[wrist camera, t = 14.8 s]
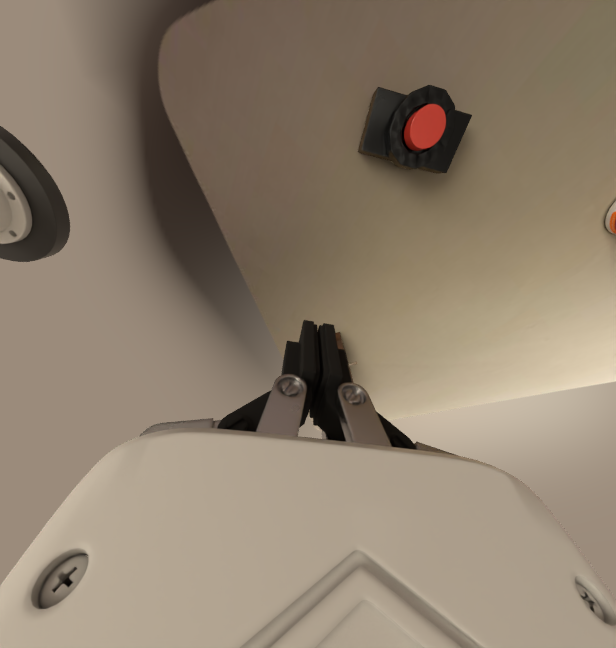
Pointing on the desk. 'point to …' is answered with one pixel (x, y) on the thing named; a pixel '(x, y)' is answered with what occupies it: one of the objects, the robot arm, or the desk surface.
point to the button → (425, 127)
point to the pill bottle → (611, 219)
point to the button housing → (389, 125)
